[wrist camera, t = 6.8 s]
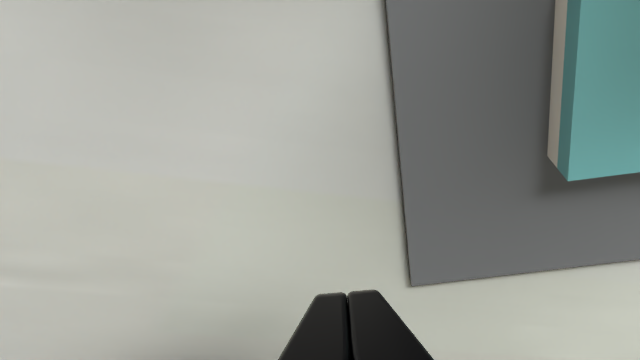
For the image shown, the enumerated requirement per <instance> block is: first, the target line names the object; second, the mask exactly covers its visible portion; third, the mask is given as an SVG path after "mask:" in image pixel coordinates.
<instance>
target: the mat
mask: <svg viewBox="0 0 640 360" xmlns="http://www.w3.org/2000/svg"><path fill="white" fill-rule="evenodd" d="M385 1H386V13H387V24H388V35H389V46H390V58H391V69H392V80H393V91H394V103H395V114H396V125H397V136H398V148H399V159H400V170H401V181H402V193H403V204H404V215H405V226H406V238H407V249H408V260H409V271H410V281H411V285H412V286H418V285H427V284H435V283H444V282H452V281H461V280H469V279H478V278H486V277H495V276H503V275H512V274H520V273H529V272H537V271H546V270H554V269H563V268H571V267H580V266H588V265H597V264H605V263H614V262H622V261H631V260H639V259H640V172H637V173H629V174H621V175H614V176H606V177H598V178H590V179H582V180H574V181H567V180H566V179H565V177H564V176H563V175H562V174H561V172H560V171H559V170H558V169H557V167H556V166H555V165H554V164H553V162H552V161H551V160H550V159H549V157H548V156H547V152H548V133H549V114H550V95H551V76H552V57H553V38H554V19H555V0H385Z"/></svg>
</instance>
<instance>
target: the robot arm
mask: <svg viewBox="0 0 640 360" xmlns="http://www.w3.org/2000/svg"><path fill="white" fill-rule="evenodd" d="M347 301H348V303H347ZM278 360H434V359H433V358H432V357H431V355H430V354H429V353H428V352H427V351H426V349H425V348H424V347H423V346H422V344H421V343H420V342H419V341H418V339H417V338H416V337H415V336H414V334H413V333H412V332H411V331H410V330H409V328H408V327H407V326H406V325H405V323H404V322H403V321H402V320H401V318H400V317H399V316H398V315H397V313H396V312H395V311H394V310H393V309H392V307H391V306H390V305H389V304H388V302H387V301H386V300H385V299H384V297H383V296H382V295H381V294H380V293H379V292H378V291H377V290H363V291H352V292H350V293H349V294H348V296H346V295H345V294H344V293H342V292H340V293H328V294H319V295H317V296H316V297H315V298H314V299H313V301H312V303H311V304H310V306H309V308H308V310H307V311H306V313H305V315H304V316H303V318H302V320H301V322H300V323H299V325H298V327H297V328H296V330H295V332H294V334H293V335H292V337H291V339H290V340H289V342H288V344H287V345H286V347H285V349H284V351H283V352H282V354H281V356H280V357H279V359H278Z"/></svg>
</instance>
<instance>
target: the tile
mask: <svg viewBox="0 0 640 360" xmlns="http://www.w3.org/2000/svg"><path fill="white" fill-rule="evenodd" d="M547 156H548V157H549V159H550V160H551V161H552V162H553V164H554V165H555V166H556V167H557V169H558V170H559V171H560V172H561V174H562V175H563V176H564V177H565V179H566V180H567V181H574V180H582V179H590V178H598V177H606V176H614V175H621V174H629V173H637V172H640V0H555V19H554V38H553V57H552V76H551V95H550V114H549V133H548V152H547Z"/></svg>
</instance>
